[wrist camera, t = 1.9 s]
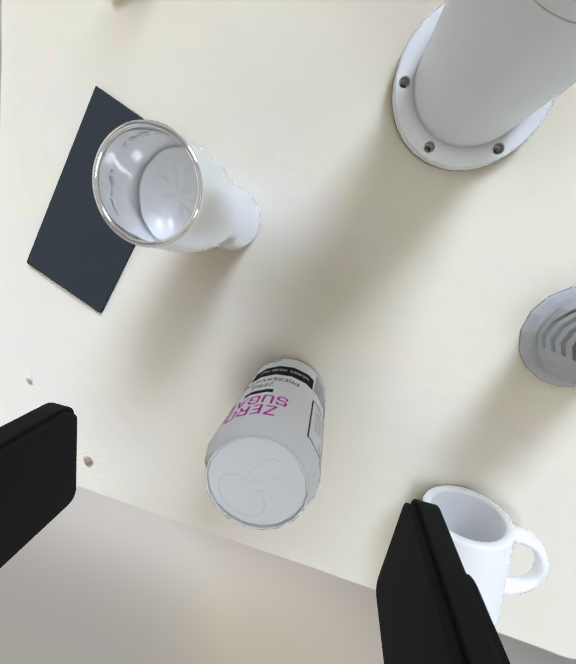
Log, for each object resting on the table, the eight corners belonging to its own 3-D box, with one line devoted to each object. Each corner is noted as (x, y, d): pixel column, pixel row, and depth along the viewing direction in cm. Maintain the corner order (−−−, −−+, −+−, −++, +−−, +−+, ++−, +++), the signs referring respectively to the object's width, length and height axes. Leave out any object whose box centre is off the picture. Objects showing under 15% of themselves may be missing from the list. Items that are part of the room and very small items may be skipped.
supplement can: (288, 438, 37) (258, 556, 22) (237, 388, 36) (172, 475, 22) (341, 395, 35) (345, 495, 20) (288, 341, 34) (253, 403, 20)
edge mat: (98, 87, 31) (95, 85, 31) (183, 147, 31) (181, 145, 31) (29, 262, 36) (26, 262, 36) (102, 312, 36) (99, 313, 36)
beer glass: (273, 191, 31) (218, 132, 16) (256, 262, 33) (192, 265, 18) (205, 172, 31) (94, 100, 17) (192, 243, 33) (81, 233, 19)
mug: (406, 553, 38) (424, 628, 30) (414, 480, 36) (435, 542, 28) (516, 567, 36) (565, 650, 28) (531, 491, 34) (589, 560, 26)
